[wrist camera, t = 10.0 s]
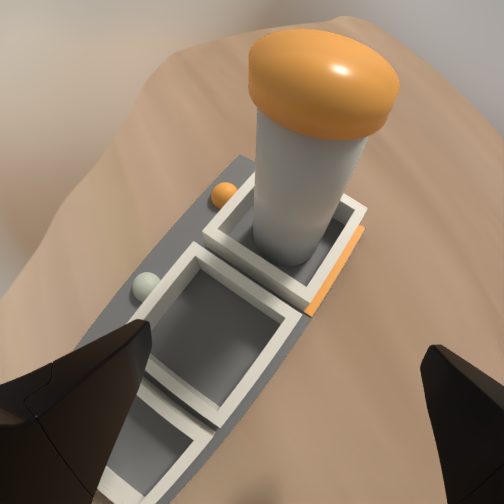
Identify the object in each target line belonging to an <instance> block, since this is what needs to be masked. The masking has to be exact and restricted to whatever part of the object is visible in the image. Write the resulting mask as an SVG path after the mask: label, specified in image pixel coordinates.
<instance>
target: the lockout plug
mask: <svg viewBox="0 0 504 504" xmlns="http://www.w3.org/2000/svg"><path fill="white" fill-rule="evenodd" d="M248 87H249V94H250V97H251V99H252V101H253V102H254V104H255V105H256V106H257V131H256V159H255V188H254V216H253V241H254V244H255V247H256V249H257V251H258V252H259V253H260V255H261V256H262V257H263V258H265V259H266V260H267V261H269V262H271V263H273V264H275V265H279V266H286V267H289V266H296V265H299V264H302V263H304V262H305V261H307V260H308V259H309V258H311V256H312V255H313V254H314V252H315V251H316V249H317V247H318V245H319V243H320V241H321V239H322V237H323V235H324V233H325V231H326V229H327V227H328V224H329V222H330V220H331V218H332V216H333V214H334V212H335V210H336V208H337V206H338V204H339V202H340V199H341V197H342V195H343V193H344V191H345V189H346V187H347V185H348V182H349V180H350V178H351V176H352V174H353V171H354V169H355V167H356V165H357V163H358V160H359V158H360V156H361V154H362V151H363V149H364V147H365V145H366V142H367V140H368V138H369V135H372V134H374V133H375V132H377V131H378V130H379V129H380V128H381V127H382V126H383V125H384V124H385V122H386V120H387V118H388V115H389V113H390V111H391V109H392V106H393V104H394V102H395V100H396V97H397V95H398V93H399V89H400V83H399V79H398V76H397V74H396V72H395V71H394V69H393V68H392V67H391V65H390V64H389V63H388V62H387V61H386V60H385V59H384V58H383V57H382V56H380V55H379V54H378V53H376V52H375V51H373V50H372V49H370V48H369V47H367V46H365V45H363V44H361V43H359V42H357V41H355V40H353V39H350V38H347V37H345V36H342V35H338V34H334V33H330V32H326V31H319V30H310V29H292V30H284V31H279V32H275V33H272V34H269V35H267V36H264V37H263V38H261V39H259V40H258V41H257V42H256V43H255V44H254V45H253V46H252V47H251V49H250V52H249V84H248Z"/></svg>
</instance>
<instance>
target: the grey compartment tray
mask: <svg viewBox="0 0 504 504" xmlns="http://www.w3.org/2000/svg"><path fill="white" fill-rule="evenodd" d="M254 188H255V162H254V161H252V160H250V159H248V158H246V157H244V156H242V155H239V156H238V157H237V158H236V159H235V160H234V161H233V162H232V163H231V164H230V165H229V166H228V167H227V168H226V169H225V170H224V171H223V172H222V173H221V174H220V175H219V177H218V178H217V179H216V180H215V181H214V182H213V183H212V184H211V185H210V186H209V187H208V188H207V189H206V190H205V191H204V192H203V194H202V195H201V196H200V197H199V198H198V199H197V200H196V201H195V202H194V203H193V204H192V205H191V207H190V208H189V209H188V210H187V211H186V212H185V213H184V214H183V215H182V217H181V218H180V219H179V220H178V221H177V222H176V223H175V224H174V226H173V227H172V228H171V229H170V230H169V231H168V232H167V233H166V235H165V236H164V237H163V238H162V239H161V240H160V242H159V243H158V244H157V245H156V246H155V247H154V249H153V250H152V251H151V252H150V253H149V254H148V256H147V257H146V258H145V259H144V260H143V262H142V263H141V264H140V265H139V266H138V268H137V269H136V270H135V271H134V272H133V274H132V275H131V276H130V277H129V279H128V280H127V281H126V282H125V284H124V285H123V286H122V287H121V288H120V290H119V291H118V292H117V294H116V295H115V296H114V297H113V299H112V300H111V301H110V302H109V304H108V305H107V306H106V308H105V309H104V310H103V311H102V313H101V314H100V315H99V317H98V318H97V319H96V321H95V322H94V323H93V325H92V326H91V327H90V329H89V330H88V331H87V333H86V334H85V335H84V337H83V338H82V339H81V341H80V342H79V343H78V345H77V346H76V348H75V349H74V350H73V351H75V350H77V349H79V348H80V347H82V346H84V345H86V344H88V343H90V342H92V341H94V340H96V339H98V338H100V337H102V336H104V335H106V334H108V333H110V332H112V331H114V330H116V329H118V328H119V327H121V326H123V325H125V324H127V323H129V322H131V321H133V320H135V319H142V320H147V321H149V323H150V326H151V335H152V349H151V352H150V355H149V358H148V362H147V365H146V368H145V371H144V375H143V378H142V381H141V384H140V387H139V390H138V392H137V395H136V397H135V399H134V401H133V404H132V406H131V408H130V410H129V413H128V415H127V417H126V420H125V422H124V424H123V427H122V429H121V431H120V434H119V436H118V438H117V441H116V443H115V446H114V448H113V450H112V453H111V455H110V458H109V460H108V462H107V465H106V467H105V470H104V472H103V475H102V477H101V480H100V482H99V485H98V487H97V489H98V490H99V491H100V492H101V493H103V494H104V495H105V496H106V497H107V498H108V499H110V500H111V501H112V502H113V503H115V504H169V503H170V502H171V501H172V499H173V498H174V497H175V496H176V495H177V494H178V493H179V492H180V491H181V490H182V488H183V487H184V486H185V485H186V484H187V483H188V482H189V481H190V480H191V478H192V477H193V476H194V475H195V474H196V473H197V472H198V470H199V469H200V468H201V467H202V466H203V465H204V463H205V462H206V461H207V460H208V459H209V457H210V456H211V455H212V454H213V453H214V451H215V450H216V449H217V448H218V447H219V445H220V444H221V443H222V442H223V440H224V439H225V438H226V437H227V435H228V434H229V433H230V432H231V430H232V429H233V428H234V427H235V425H236V424H237V423H238V422H239V420H240V419H241V418H242V416H243V415H244V414H245V413H246V411H247V410H248V409H249V407H250V406H251V405H252V403H253V402H254V401H255V399H256V398H257V397H258V395H259V394H260V393H261V391H262V390H263V389H264V387H265V386H266V384H267V383H268V382H269V380H270V379H271V377H272V376H273V375H274V373H275V372H276V370H277V369H278V368H279V366H280V365H281V363H282V362H283V361H284V359H285V358H286V356H287V355H288V353H289V352H290V350H291V349H292V348H293V346H294V345H295V343H296V342H297V340H298V339H299V337H300V336H301V334H302V333H303V331H304V330H305V328H306V327H307V325H308V324H309V322H310V321H311V319H312V317H313V316H314V314H315V313H316V311H317V310H318V308H319V307H320V305H321V303H322V302H323V300H324V299H325V297H326V295H327V294H328V292H329V291H330V289H331V287H332V286H333V284H334V282H335V281H336V279H337V278H338V276H339V274H340V273H341V271H342V269H343V268H344V266H345V264H346V262H347V261H348V259H349V257H350V256H351V254H352V252H353V250H354V249H355V247H356V245H357V244H358V242H359V240H360V238H361V236H362V235H363V233H364V231H365V229H366V228H365V227H364V226H362V225H361V224H359V223H360V221H361V219H362V218H363V216H364V214H365V212H366V211H367V209H368V208H366V207H365V206H363V205H362V204H360V203H358V202H357V201H355V200H354V199H352V198H350V197H349V196H347V195H345V194H344V193H343V195H342V197H341V199H340V202H339V204H338V206H337V208H336V210H335V212H334V214H333V216H332V218H331V220H330V222H329V224H328V227H327V229H326V231H325V233H324V235H323V237H322V239H321V241H320V243H319V245H318V247H317V249H316V251H315V252H314V254H313V255H312V256H311V258H309V259H308V260H307V261H305V262H304V263H302V264H299V265H296V266H289V267H286V266H279V265H275V264H273V263H271V262H269V261H267V260H266V259H265V258H263V257H262V256H261V255H260V253H259V252H258V251H257V249H256V247H255V244H254V241H253V216H254Z"/></svg>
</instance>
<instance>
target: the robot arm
mask: <svg viewBox="0 0 504 504" xmlns="http://www.w3.org/2000/svg"><path fill="white" fill-rule="evenodd" d="M151 349H152V335H151V326H150V323H149V321H147V320H142V319H135V320H133V321H131V322H129V323H127V324H125V325H123V326H121V327H119V328H118V329H116V330H114V331H112V332H110V333H108V334H106V335H104V336H102V337H100V338H98V339H96V340H94V341H92V342H90V343H88V344H86V345H84V346H82V347H80V348H79V349H77V350H75V351H73V352H71V353H69V354H67V355H65V356H63V357H61V358H59V359H57V360H55V361H53V363H49V364H47V365H45V366H43V367H41V368H39V369H37V370H35V371H33V372H31V373H28V374H26V375H24V376H21V377H19V378H16V379H14V380H11V381H9V382H6V383H4V384H1V385H0V504H91V503H92V501H93V498H92V497H94V495H95V493H96V490H97V487H98V485H99V482H100V480H101V477H102V475H103V472H104V470H105V467H106V465H107V462H108V460H109V458H110V455H111V453H112V450H113V448H114V446H115V443H116V441H117V438H118V436H119V434H120V431H121V429H122V427H123V424H124V422H125V420H126V417H127V415H128V413H129V410H130V408H131V406H132V404H133V401H134V399H135V397H136V395H137V392H138V390H139V387H140V384H141V381H142V378H143V375H144V371H145V368H146V365H147V362H148V358H149V355H150V352H151ZM420 372H421V377H422V382H423V387H424V393H425V399H426V405H427V409H428V413H429V417H430V421H431V425H432V429H433V433H434V437H435V441H436V446H437V450H438V455H439V459H440V464H441V469H442V474H443V480H444V485H445V491H446V497H447V504H504V386H503V385H501V384H500V383H498V382H497V381H495V380H494V379H492V378H491V377H489V376H488V375H487V374H485V373H484V372H482V371H481V370H479V369H478V368H476V367H475V366H473V365H472V364H470V363H469V362H467V361H465V360H464V359H462V358H461V357H459V356H458V355H456V354H455V353H453V352H452V351H450V350H449V349H447V348H446V347H444V346H443V345H431V346H429V348H428V350H427V352H426V354H425V356H424V358H423V360H422V363H421V366H420Z"/></svg>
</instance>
